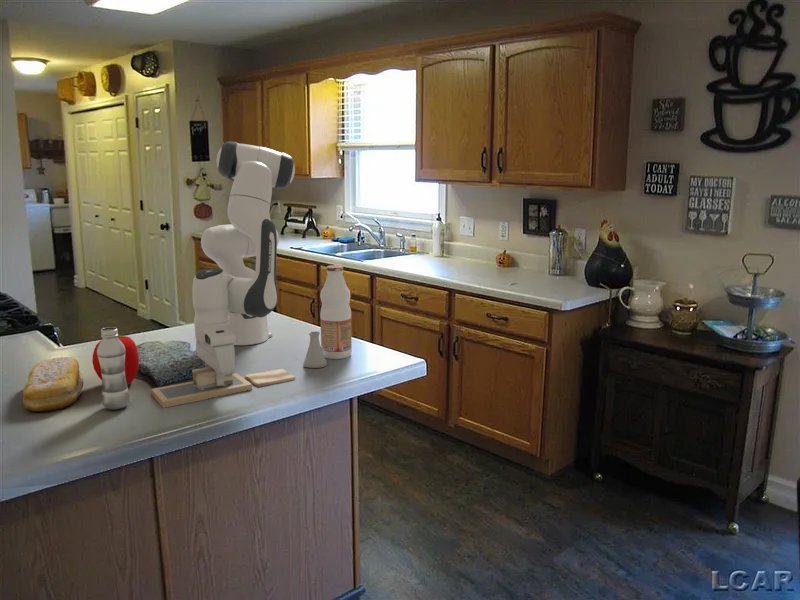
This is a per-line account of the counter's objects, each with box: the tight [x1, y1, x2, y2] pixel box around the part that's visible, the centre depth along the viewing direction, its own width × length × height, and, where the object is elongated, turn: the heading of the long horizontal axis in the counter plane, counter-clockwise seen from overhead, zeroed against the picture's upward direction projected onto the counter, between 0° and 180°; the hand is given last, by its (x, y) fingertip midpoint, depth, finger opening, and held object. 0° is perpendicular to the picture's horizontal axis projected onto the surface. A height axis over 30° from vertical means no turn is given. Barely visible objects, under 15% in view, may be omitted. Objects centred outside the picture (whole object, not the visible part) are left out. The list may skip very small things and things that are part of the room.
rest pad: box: [244, 367, 296, 388], centre depth 183 cm, size 9×11×1 cm
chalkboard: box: [151, 372, 253, 408], centre depth 173 cm, size 11×23×2 cm, turn 124°
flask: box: [302, 330, 328, 369], centre depth 194 cm, size 7×7×10 cm
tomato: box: [92, 334, 140, 386], centre depth 176 cm, size 13×11×14 cm
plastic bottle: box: [97, 326, 131, 411], centre depth 160 cm, size 6×7×20 cm
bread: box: [22, 356, 84, 413], centre depth 170 cm, size 13×26×8 cm, turn 25°
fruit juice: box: [319, 264, 353, 360], centre depth 202 cm, size 9×9×28 cm
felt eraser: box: [191, 367, 233, 390], centre depth 174 cm, size 5×9×4 cm, turn 124°
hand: (215, 381), depth 175 cm, fingers closed on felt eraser, 5 cm apart
